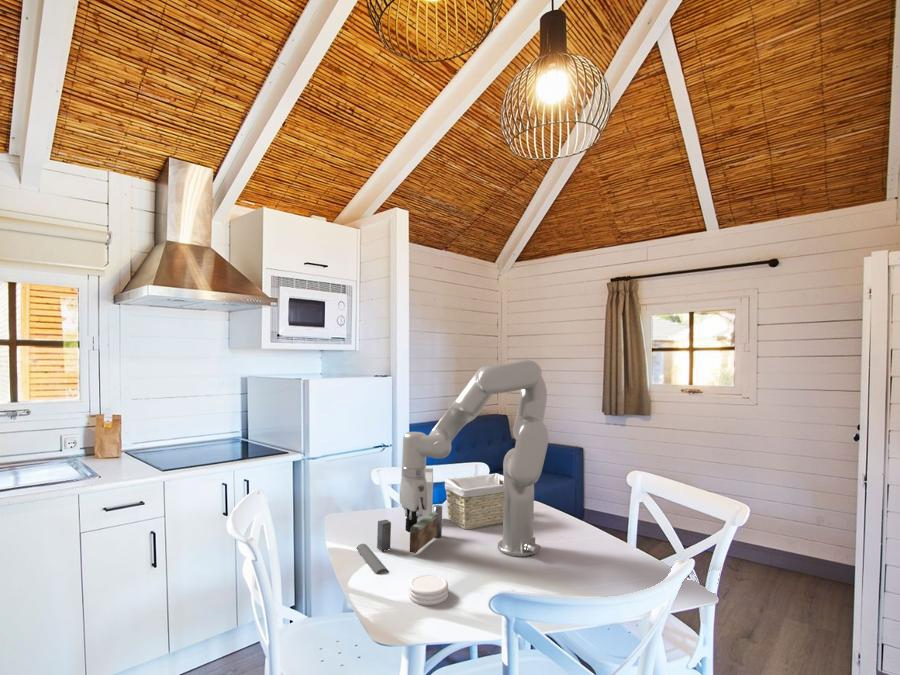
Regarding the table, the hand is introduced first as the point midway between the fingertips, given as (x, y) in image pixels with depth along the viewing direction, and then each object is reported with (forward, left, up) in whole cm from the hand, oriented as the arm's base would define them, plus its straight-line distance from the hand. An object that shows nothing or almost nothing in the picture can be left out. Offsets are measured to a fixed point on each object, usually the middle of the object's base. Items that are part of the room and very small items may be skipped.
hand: (411, 530), depth 157 cm
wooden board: (-1, -4, -4) cm, 6 cm away
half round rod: (-1, +14, -6) cm, 15 cm away
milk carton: (+20, -17, -6) cm, 27 cm away
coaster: (-28, +11, -6) cm, 31 cm away
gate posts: (+4, -3, -6) cm, 7 cm away
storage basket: (+9, -36, -6) cm, 37 cm away
